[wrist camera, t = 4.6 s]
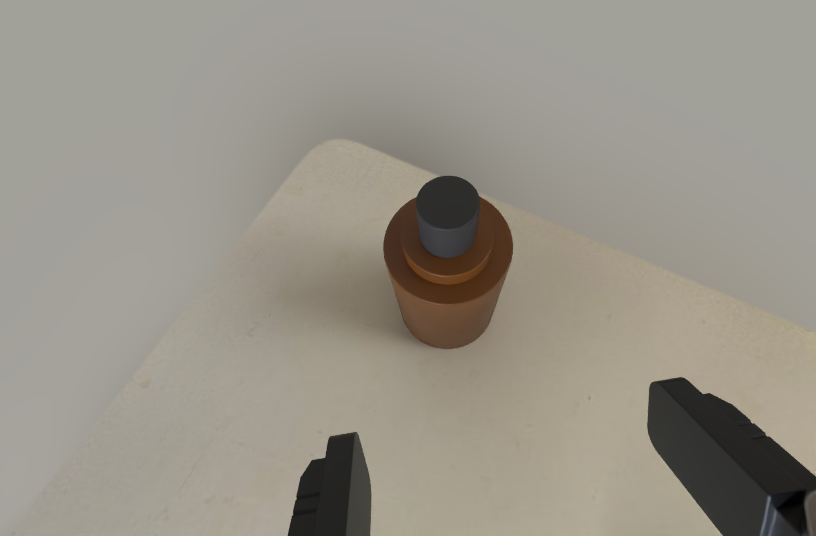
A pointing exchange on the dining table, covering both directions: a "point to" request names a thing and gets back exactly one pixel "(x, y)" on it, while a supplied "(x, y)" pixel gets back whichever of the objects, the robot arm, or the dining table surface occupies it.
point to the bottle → (447, 262)
